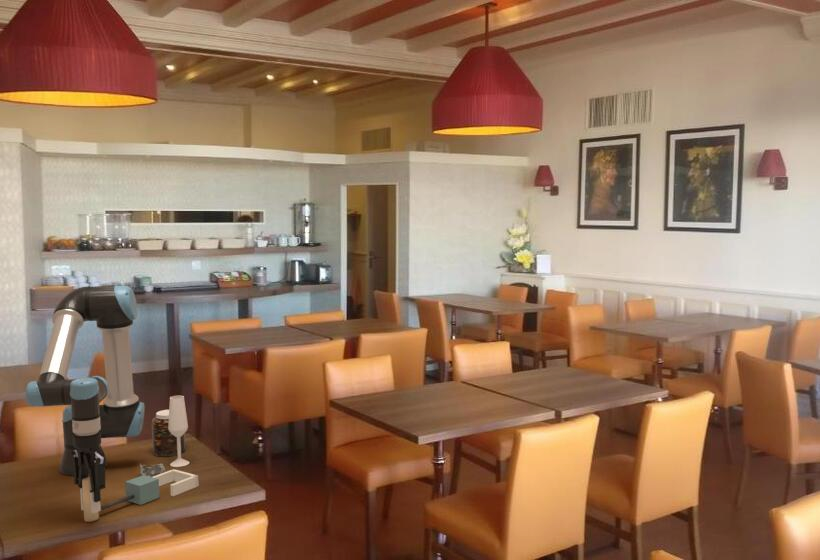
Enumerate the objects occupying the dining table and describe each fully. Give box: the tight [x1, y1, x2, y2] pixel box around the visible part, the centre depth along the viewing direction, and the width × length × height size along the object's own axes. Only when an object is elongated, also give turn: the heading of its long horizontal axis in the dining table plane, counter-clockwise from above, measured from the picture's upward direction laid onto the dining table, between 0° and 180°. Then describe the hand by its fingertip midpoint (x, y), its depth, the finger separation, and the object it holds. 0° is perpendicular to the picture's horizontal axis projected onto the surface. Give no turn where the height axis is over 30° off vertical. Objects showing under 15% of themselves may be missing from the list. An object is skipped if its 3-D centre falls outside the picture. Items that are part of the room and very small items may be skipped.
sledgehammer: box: [82, 475, 160, 523], centre depth 235 cm, size 7×24×12 cm, turn 147°
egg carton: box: [139, 463, 166, 477], centre depth 262 cm, size 11×8×4 cm
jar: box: [151, 409, 186, 458], centre depth 288 cm, size 12×12×15 cm
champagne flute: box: [168, 395, 190, 468], centre depth 275 cm, size 7×7×24 cm
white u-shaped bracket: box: [153, 468, 200, 497], centre depth 252 cm, size 12×10×4 cm
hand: (91, 510), depth 227 cm, fingers closed on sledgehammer, 4 cm apart
